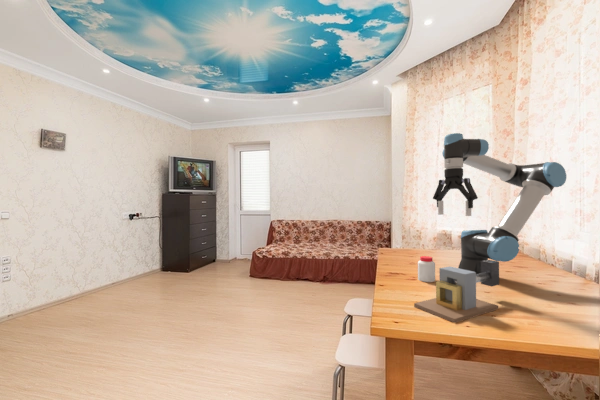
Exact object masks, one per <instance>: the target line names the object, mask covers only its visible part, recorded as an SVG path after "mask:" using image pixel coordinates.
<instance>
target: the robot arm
mask: <svg viewBox="0 0 600 400" xmlns="http://www.w3.org/2000/svg"><path fill="white" fill-rule="evenodd" d="M489 145H490V144H489V142H488V140H487V139H483V138H482V139H481V138H464V134H462V133H459V132H458V133H456V132H455V133H449V134H446V135H445V136H444V140H443V150H442V157H443V158H444V168H445V169H444V179H439V180H438V185H437V187H436V190H435V192H434V194H433V197H432V199H433V200H435V201H436V208H437V214H438V215H444V200H443V199H444V198H445V196H446V195H447V194H448V192H450V190H458V191H459V192H460V193H461V194H462V195H463V197H464V198H465V199H466V201H465V216H466V217H472V209H473V208H474V200H478V198H479V197H478V195H477V193H476V192H475V189H474V187H473V185H472V184H471V179H470V177H465V178H463V177H464V169H463V167H464V165H465V166H469V167H472V168H475V169H476V170H479V171H482V172H484V173H488V174H489V175H492V176H494V177H495V176H496V177H498V178H499V179H500V180H501V181H503V182H505V183H508V184H510V185H513V186H516V187H520V188H522V189H521V191H520V192H519V193H518V194H517V196H516V198H515V200H514V201H513V202H512V204H511V205H510V207H509V208H508V209H507V211H506V213H505V214H504V216H503V217H502V219H501V220H500V221H499V223H498V225H497V226H492V227H491V228H490V230H489V231H488V230H487V229H476V230H474V229H473V230H472V229H470V230H463V231H461V233H460V249H461V253H460V254H461V256H460V257H461V259H460V262H459V264H458V267H457V268H459V269H464V270H469V271H473V272H476V274H479V273H481V261H485V260H492V261H498V262H504V263H505V262H510V261H513V259H515V258H516V257H517V255H518V254H519V252H520V249H519V248H520V244H519V242H520V239H519V237H518V235H519V234H520V232H521V230H522V229H523V227H524V226H525V225H526V223H527V222H528V220H529V219H530V217H531V216H532V215H533V213H534V211H535V210H536V208H537V207H538V205H539V204H540V203H541V201H542V200H543V197H544V196H548V195H550V194H551V193H552V192H553V190H554V188H560V187H562V186H564V185H565V183H566V182H567V173H566V169H565V167H564V166H563V165H562V164H561V163H559V162H557V161H555V162H554V161H550V162H549V161H546V162H541V163H534V164H525V165H524V164H523V165H522V164H521V165H519V164H515V163H512V162H511V163H506V162H504V161H501V160H498V159H495V158H493V157H491V156H488V155H486V154H487V153H488V151H489V148H490V147H489ZM463 184H464V185H465V186H464V185H463Z"/></svg>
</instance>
